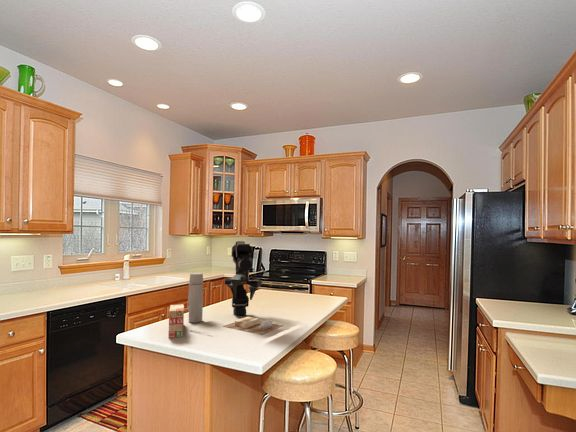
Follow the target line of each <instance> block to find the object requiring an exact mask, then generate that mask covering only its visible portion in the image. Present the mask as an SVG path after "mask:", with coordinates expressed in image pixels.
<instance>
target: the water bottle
mask: <svg viewBox="0 0 576 432" xmlns="http://www.w3.org/2000/svg"><path fill="white" fill-rule="evenodd" d="M187 284H188V294H187V295H188V296H187V305H186V306H187V307H186V311H187V312H188V322H189V323H194V324H197V323H201V322H202V321H203V311H204V310H203V309H204V308H203V306H204V305H203V303H204V301H203V300H204V274H203V273H202V272H191V273H190V274H189V282H187Z"/></svg>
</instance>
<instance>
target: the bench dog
mask: <svg viewBox="0 0 576 432" xmlns="http://www.w3.org/2000/svg"><path fill="white" fill-rule="evenodd" d="M272 324H273V319H267V320H264V321H261V330H262V331H264V330H267V329H269V328H272Z"/></svg>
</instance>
